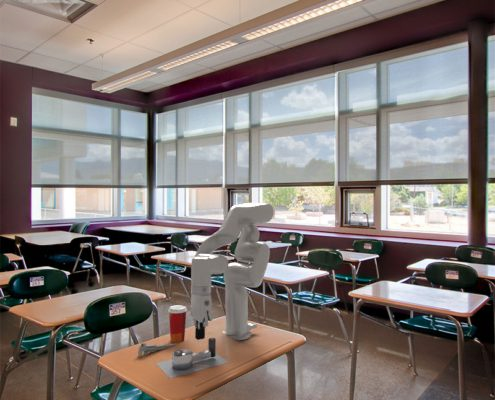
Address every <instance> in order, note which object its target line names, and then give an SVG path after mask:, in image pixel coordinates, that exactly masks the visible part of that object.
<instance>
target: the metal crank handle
mask: <svg viewBox="0 0 495 400" xmlns="http://www.w3.org/2000/svg"><path fill="white" fill-rule="evenodd" d="M216 340H217V339H216V338H215V337H210V338H208V340H207V341H208V344H207V345H208V346H207V347H208V348H207V349H208V350H203V351H198V352H194V353H193V351H192V350H190V349H175V350H173V352H172V355H171V359H172V367H173V368H174V369H177V370H185V369H188V368H190V367H192V365H193V362H194V361H198V360H202V359H206V358H210V357H215V356H216V353H217V352H216V349H217V348H216V346H217V345H216V344H217V342H216Z"/></svg>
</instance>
